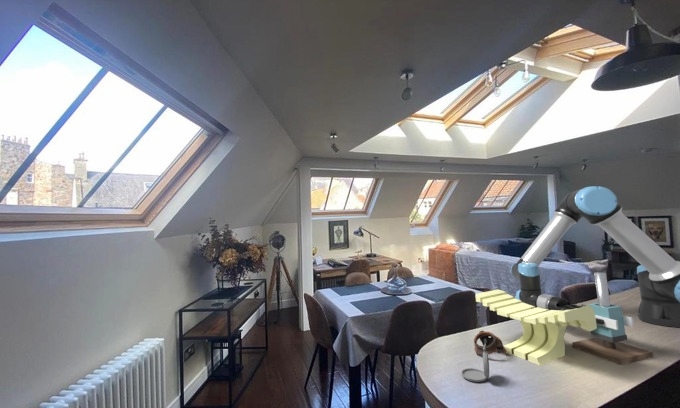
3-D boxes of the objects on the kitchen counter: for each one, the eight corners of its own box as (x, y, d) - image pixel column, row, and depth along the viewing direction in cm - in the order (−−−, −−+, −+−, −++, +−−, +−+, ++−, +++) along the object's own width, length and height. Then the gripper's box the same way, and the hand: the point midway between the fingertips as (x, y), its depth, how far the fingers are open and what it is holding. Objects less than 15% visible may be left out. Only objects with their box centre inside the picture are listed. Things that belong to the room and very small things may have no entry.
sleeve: (604, 328, 98) (600, 302, 99) (625, 334, 93) (621, 306, 93) (591, 331, 97) (587, 304, 98) (612, 337, 91) (608, 308, 92)
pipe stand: (602, 340, 103) (592, 268, 105) (653, 356, 89) (640, 273, 92) (572, 346, 99) (563, 272, 102) (620, 364, 86) (608, 278, 88)
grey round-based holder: (457, 373, 86) (454, 338, 87) (484, 370, 87) (480, 336, 88) (472, 387, 78) (468, 349, 79) (501, 384, 79) (497, 346, 80)
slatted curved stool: (601, 363, 87) (593, 303, 89) (572, 377, 80) (564, 312, 82) (507, 333, 114) (503, 288, 116) (480, 342, 107) (475, 293, 109)
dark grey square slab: (604, 333, 98) (604, 328, 99) (627, 339, 92) (626, 334, 92) (591, 335, 97) (590, 331, 97) (613, 342, 91) (612, 337, 91)
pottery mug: (515, 361, 93) (504, 341, 91) (488, 373, 93) (477, 354, 92) (495, 337, 104) (485, 319, 103) (472, 349, 105) (462, 331, 104)
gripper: (573, 312, 114) (647, 331, 92) (535, 319, 110) (604, 340, 87) (571, 293, 115) (644, 307, 93) (533, 299, 110) (600, 315, 88)
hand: (624, 323), depth 90 cm, fingers closed on sleeve, 6 cm apart
